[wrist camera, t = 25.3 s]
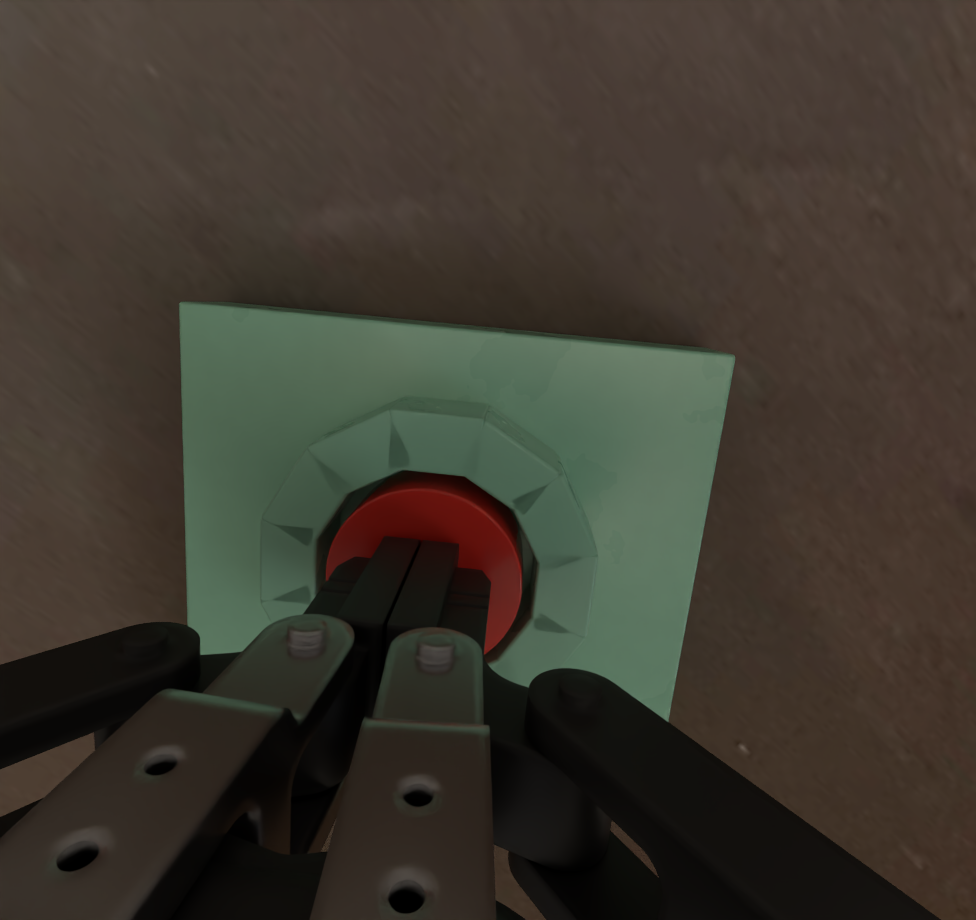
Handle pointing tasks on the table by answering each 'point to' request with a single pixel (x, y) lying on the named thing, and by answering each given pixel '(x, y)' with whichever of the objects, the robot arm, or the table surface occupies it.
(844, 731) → the table surface
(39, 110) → the table surface
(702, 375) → the box
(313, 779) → the robot arm
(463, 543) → the button
